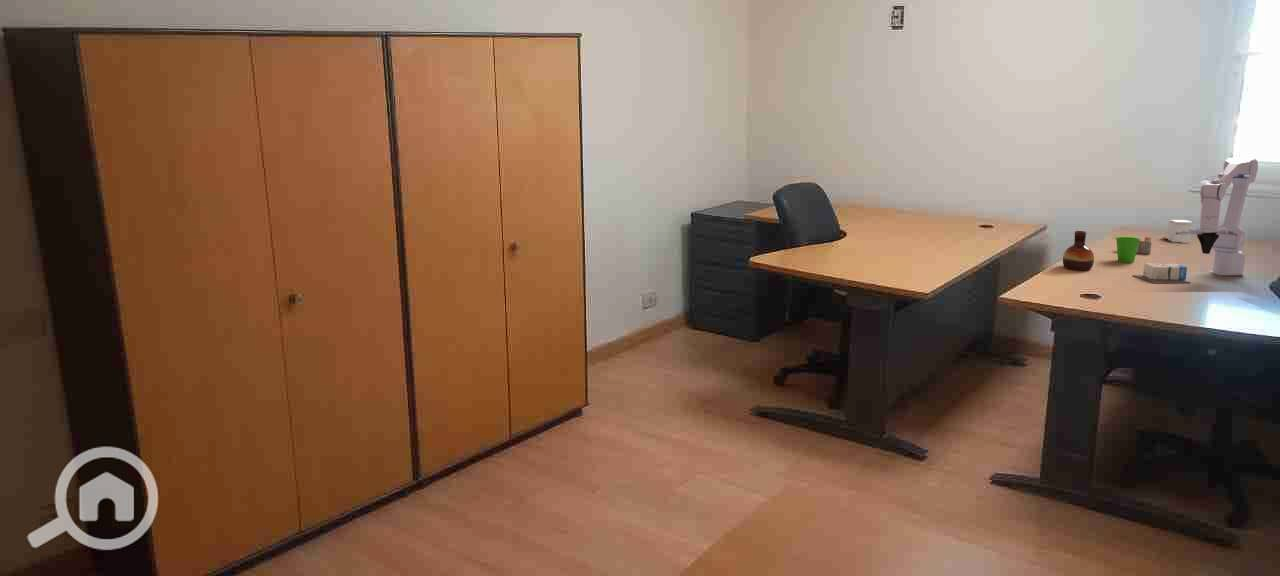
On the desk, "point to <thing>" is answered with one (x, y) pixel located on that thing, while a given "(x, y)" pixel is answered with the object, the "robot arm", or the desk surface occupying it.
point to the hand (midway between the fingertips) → (1205, 253)
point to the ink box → (1164, 271)
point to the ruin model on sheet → (1144, 246)
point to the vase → (1078, 254)
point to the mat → (1159, 280)
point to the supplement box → (1179, 231)
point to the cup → (1127, 248)
